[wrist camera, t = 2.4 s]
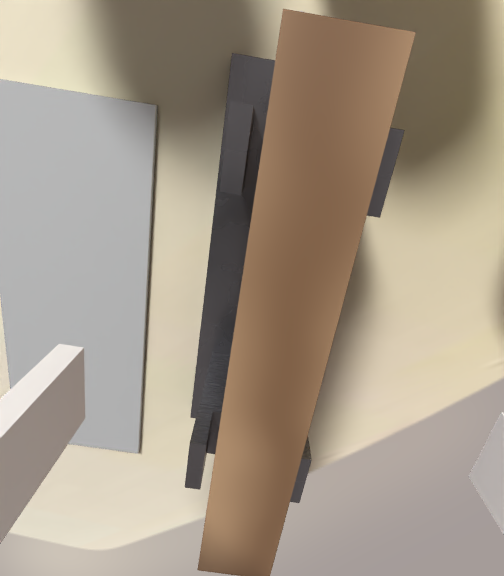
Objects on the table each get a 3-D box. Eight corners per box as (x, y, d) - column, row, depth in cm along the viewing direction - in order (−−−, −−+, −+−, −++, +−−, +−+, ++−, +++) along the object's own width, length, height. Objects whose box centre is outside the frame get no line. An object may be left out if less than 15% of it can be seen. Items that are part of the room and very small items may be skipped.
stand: (192, 408, 29) (161, 524, 20) (233, 57, 20) (210, -14, 11) (293, 422, 29) (306, 543, 20) (376, 82, 20) (464, 31, 11)
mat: (18, 433, 30) (15, 436, 30) (-19, 76, 20) (-24, 75, 20) (139, 449, 30) (138, 453, 30) (157, 105, 21) (155, 105, 20)
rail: (211, 479, 22) (197, 570, 17) (276, 55, 14) (283, 8, 9) (267, 486, 22) (268, 579, 17) (364, 70, 14) (415, 32, 9)
